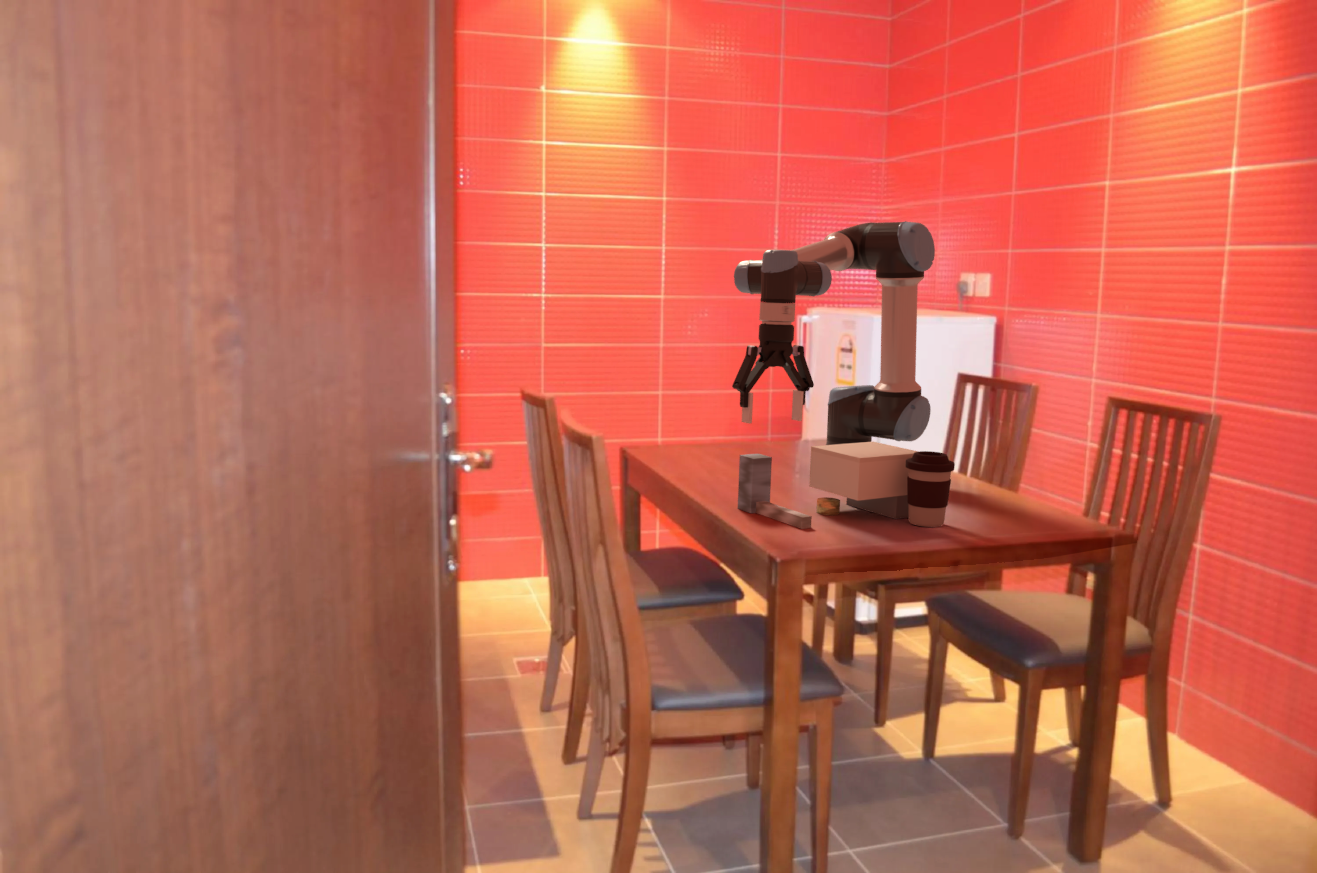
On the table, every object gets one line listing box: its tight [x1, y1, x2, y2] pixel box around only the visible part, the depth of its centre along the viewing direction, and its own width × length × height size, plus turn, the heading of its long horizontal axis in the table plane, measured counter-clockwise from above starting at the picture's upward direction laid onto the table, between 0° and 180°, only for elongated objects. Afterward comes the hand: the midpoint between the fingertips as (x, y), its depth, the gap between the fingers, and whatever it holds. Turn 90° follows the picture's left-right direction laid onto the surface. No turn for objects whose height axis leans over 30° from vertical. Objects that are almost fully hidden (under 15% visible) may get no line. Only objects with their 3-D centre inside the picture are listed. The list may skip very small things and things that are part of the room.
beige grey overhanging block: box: [808, 441, 920, 520], centre depth 231 cm, size 16×18×14 cm
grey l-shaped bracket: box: [737, 453, 812, 530], centre depth 224 cm, size 21×5×12 cm, turn 31°
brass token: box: [816, 496, 841, 516], centre depth 230 cm, size 5×5×3 cm
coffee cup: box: [906, 450, 956, 528], centre depth 221 cm, size 10×10×15 cm
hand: (772, 421), depth 229 cm, fingers open, 13 cm apart
